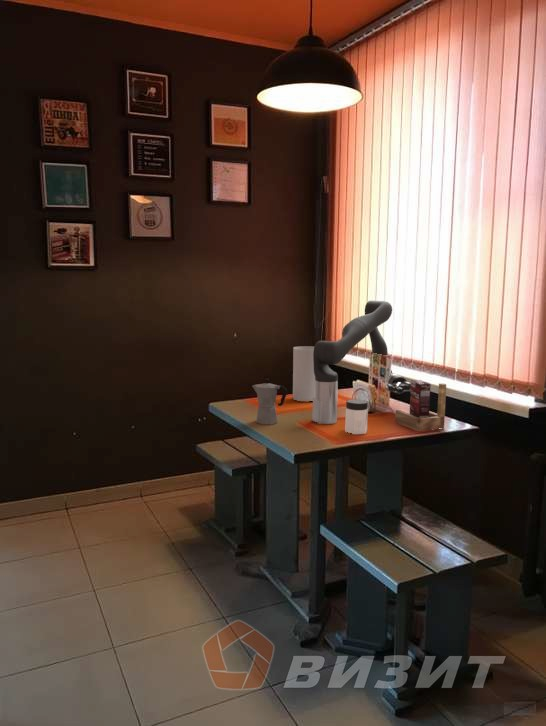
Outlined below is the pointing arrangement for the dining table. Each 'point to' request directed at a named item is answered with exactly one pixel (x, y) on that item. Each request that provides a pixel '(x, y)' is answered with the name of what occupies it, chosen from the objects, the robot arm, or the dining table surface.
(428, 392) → the supplement box
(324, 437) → the dining table surface
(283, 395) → the coffeepot
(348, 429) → the jar
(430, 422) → the bracket
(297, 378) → the cylinder vase
